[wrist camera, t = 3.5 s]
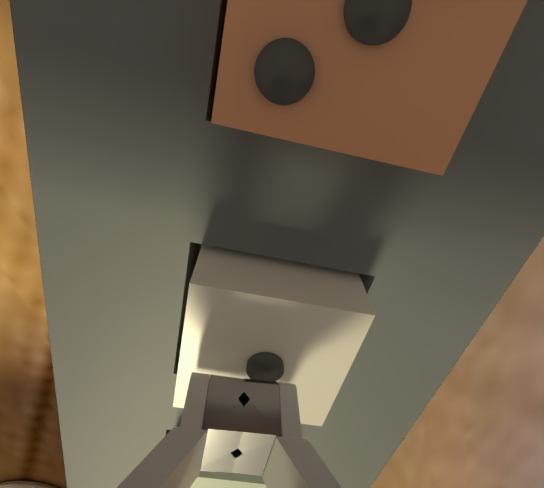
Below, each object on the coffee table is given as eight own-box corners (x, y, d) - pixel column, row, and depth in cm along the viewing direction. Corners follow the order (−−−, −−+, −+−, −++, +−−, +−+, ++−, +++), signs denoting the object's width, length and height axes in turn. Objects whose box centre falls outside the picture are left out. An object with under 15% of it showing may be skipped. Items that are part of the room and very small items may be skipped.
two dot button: (288, 416, 16) (292, 492, 14) (265, 473, 19) (265, 548, 16) (180, 402, 16) (162, 478, 13) (171, 463, 18) (154, 538, 15)
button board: (712, -205, 8) (931, -327, 5) (323, 485, 22) (330, 544, 20) (59, -470, 6) (-89, -838, 4) (95, 460, 21) (70, 520, 18)
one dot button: (352, 256, 12) (377, 320, 9) (312, 357, 14) (322, 432, 12) (207, 229, 12) (188, 287, 9) (190, 338, 14) (171, 412, 11)
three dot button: (487, -83, 8) (608, -152, 5) (398, 141, 10) (446, 178, 7) (265, -155, 7) (263, -281, 4) (226, 101, 10) (209, 125, 7)
